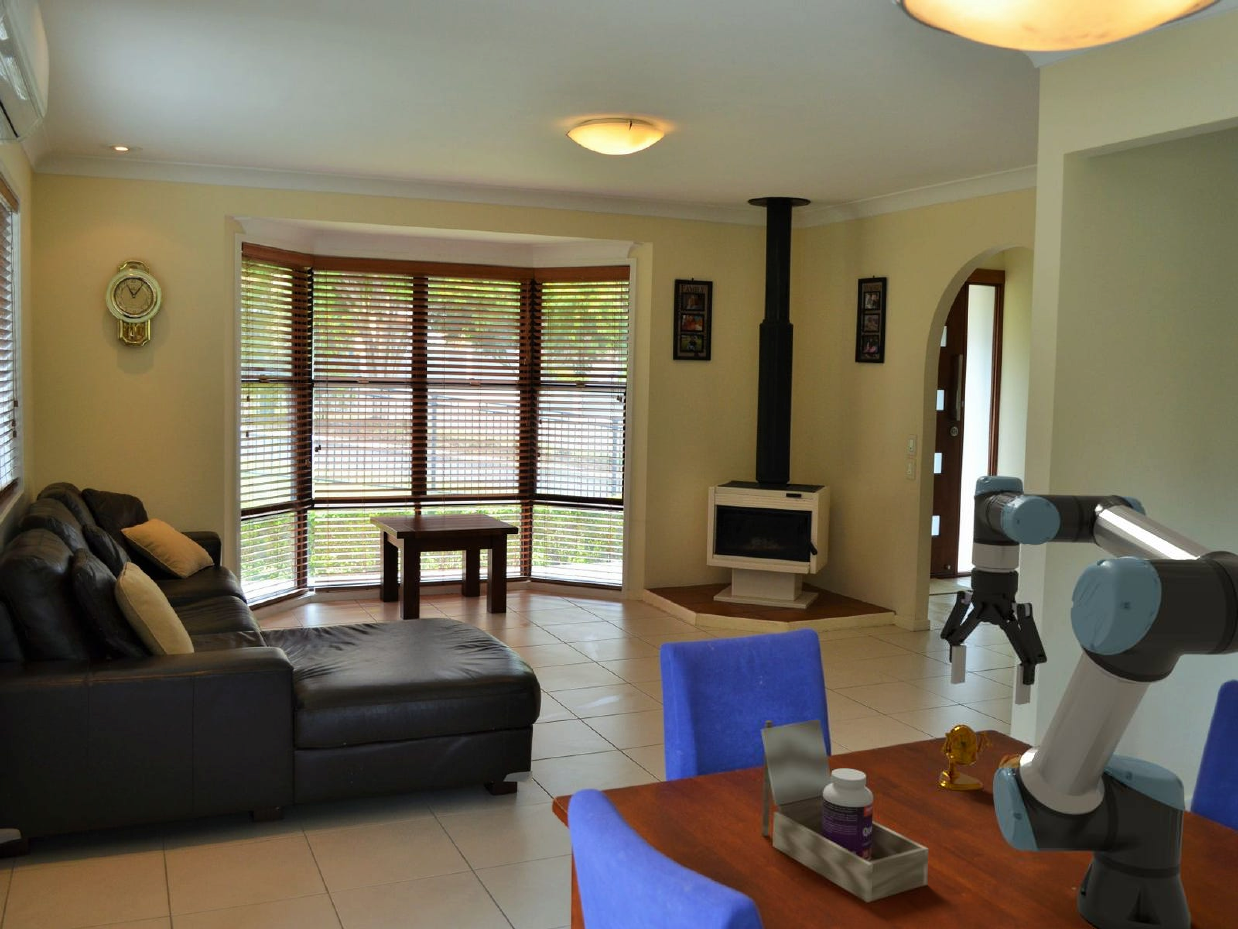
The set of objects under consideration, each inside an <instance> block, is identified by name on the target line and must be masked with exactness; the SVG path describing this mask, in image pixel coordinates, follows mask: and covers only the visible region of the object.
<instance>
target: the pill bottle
mask: <svg viewBox="0 0 1238 929" xmlns="http://www.w3.org/2000/svg"><path fill="white" fill-rule="evenodd" d="M830 775H831V781H832V783H831V784H829V785H828V786H826V787H825V789H824V791H823V809H822V810H823V811H822V835H821V836H823V837H824V838H826V839H828V840H830V841H832V842H834V843H835V844H837V845H839V846H841V847H843V848H845V849H846V850H848V851H850V852H852V853H854V854H855V855H857V856H859V857H861V858H863V859H865V860H866V861H868V862H870V859H871V843H872V821H873V818H874V817H873V816H874V815H873V813H874V794H873V793H872V790H870V789H869V788H868V787H866V785H867V775H866V773H864V772H863V771H861V770H857V769H854V768H853V769H852V768H847V767H846V768H843V767H842V768H841V767H840V768H836V769H833V770H832V771H831V772H830Z"/></svg>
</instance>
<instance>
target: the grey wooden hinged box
mask: <svg viewBox="0 0 1238 929" xmlns="http://www.w3.org/2000/svg"><path fill="white" fill-rule="evenodd" d="M821 723H822V722H821V720H820V718H819V719H812V720H807V721H801V722H795V723H789V724H785V725H778V726H774V724H773V721H772V720H765V726H764V728H762V729H760V732H761V737H762V743H763V749H764V756H763V757H764V759H763V761H764V762H763V787H762V788H763V789H762V793H763V794H762V816H761V817H762V819H761V835H762V836H763V837H768V836H770V812H771V811H770V808H771V807H770V806H771V794H772V799H773V805H774V806H775V807H776V806H777V811H776V812H773V825H772V826H773V827H772V828H773V829H772V830H773V833H772V847H774V848H775V849H777V850H778V851H780V852H782V853H783V854H786V855H787V856H789V857H790V858H792V859H794V860H796V861H797V862H799V863H800V864H802V865H804V866H805V867H807V868H808V869H811V870H812V871H814V872H816V873H817V874H819V875H821V876H822V877H823V878H825V879H827V880H829V881H830V882H833V883H834V884H836V885H837V886H839V887H841V888H842V889H844V890H845V891H847V892H849V893H851V894H852V895H854V896H856V897H858V898H859V899H861V900H862V901H864V902H866V903H871V902H873V901H876V900H879V899H883V898H887V897H889V896H893V895H897V894H899V893H903V892H906V891H910V890H913V889H916V888H921V887H924V886H926V885H928V871H929V870H928V869H929V866H928V864H929V848H928V847H927V846H924V845H922V844H920V843H918V842H916V841H914V840H912V839H910V838H908V837H906V836H904V835H902V834H900V833H898V832H896V831H894V830H892V829H890V828H888V827H886V826H884V825H882V824H880V823H877V822H876V821H874V820H872V843H871V859H870V862H868V861H866V860H865V859H863V858H861V857H859V856H857V855H855V854H854V853H852V852H850V851H848V850H846V849H845V848H843V847H841V846H839V845H837V844H835V843H834V842H832V841H830V840H828V839H826V838H824V837H823V836H821V835H822V811H823V810H822V809H823V791H824V789H825V787H826V786H828V785H829V784H831V783H832V781H831V771H830V765H829V760H828V754H827V750H826V744H825V739H824V734H823V729H822V724H821Z"/></svg>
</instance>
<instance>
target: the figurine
mask: <svg viewBox="0 0 1238 929" xmlns="http://www.w3.org/2000/svg"><path fill="white" fill-rule="evenodd" d="M944 735H945V737H946V738H945V740H944V744H943V746H942V748H940V749H941V750H940V752H941V754H942V755H945V756H946V758H947V760H948V768H947V769H945V770H942V771H941V772H940V775H939V777H938V778H939V779H938V785H939V786H940V787H941V788H943V789H945V790H951V791H959V792H960V791H961V792H962V791H966V792H968V791H977V790H978V791H979V790H982V789H983V787H984V786H983V785H984V784H983V783H982V782H981V781H980V780H979V779H978V778H976V777H972V776H970V775H968V774H965V773H962V772H959V771H958V770H957V767H956V766H963V767H965V766H967V767H968V766H971V765H973V764H974V763H976V761H978V758H979V756H978V754H982V753H983V744H984V740H985V742H986V748H989V749H992V748H994V745H993V744H992V743H991V742H990V740H989V738H988V737H987V736H988V733H987V731H980V732H979V735H980V739H979V741H978V737H977V734H976V732H975V731H974V730H973V729H972V728H971V727H970V726H968V725H966V724H957V725H955V726H954V727H953V728H951V730H950V731H949V732H945V734H944Z"/></svg>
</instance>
